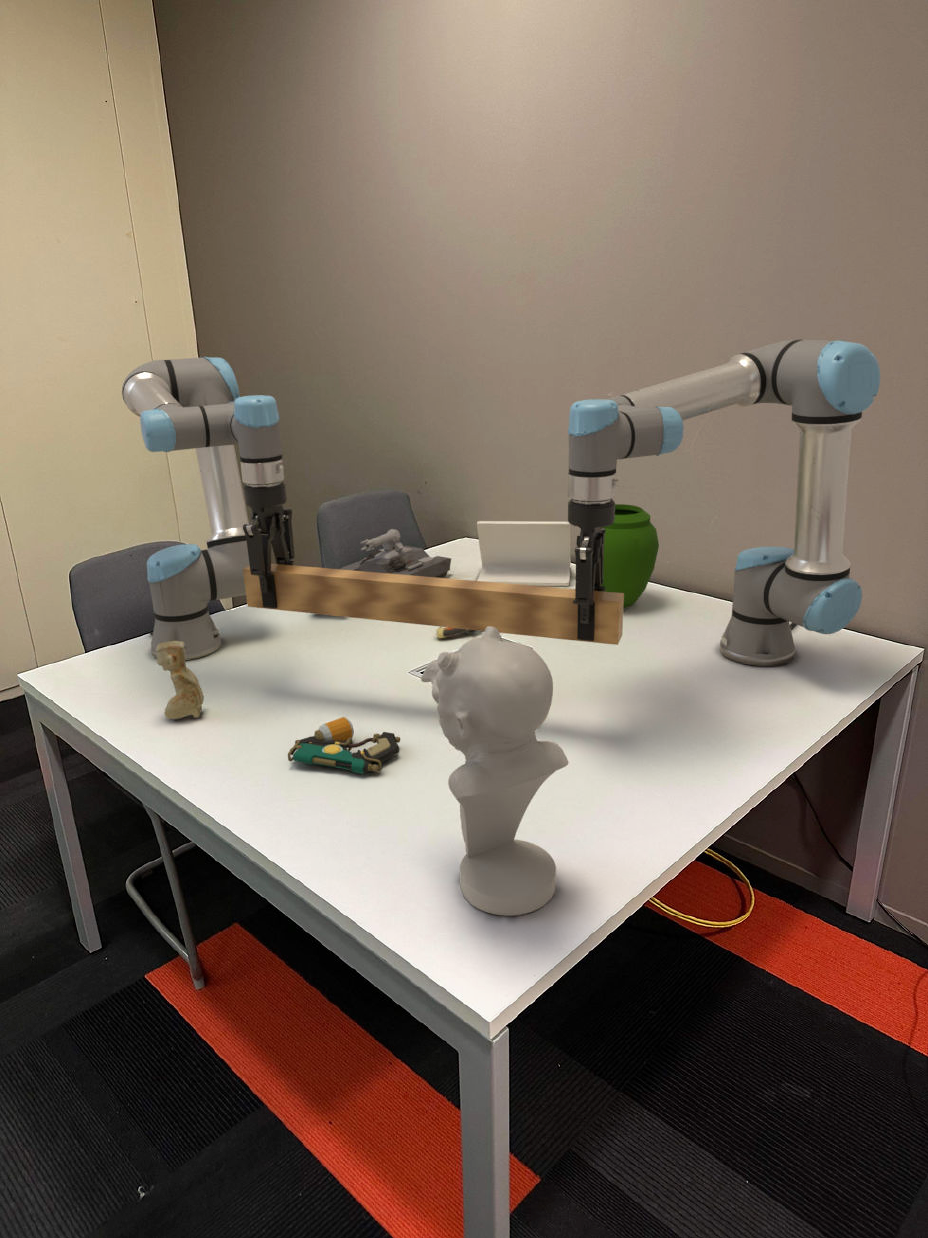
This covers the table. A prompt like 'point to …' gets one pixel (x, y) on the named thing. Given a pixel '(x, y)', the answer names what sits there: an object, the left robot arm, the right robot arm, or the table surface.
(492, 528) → the tablet stand
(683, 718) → the table surface
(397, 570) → the toy
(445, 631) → the toy gun
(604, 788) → the table surface
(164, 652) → the sculpture
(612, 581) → the vase
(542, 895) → the bust sculpture
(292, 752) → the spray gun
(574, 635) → the beam
